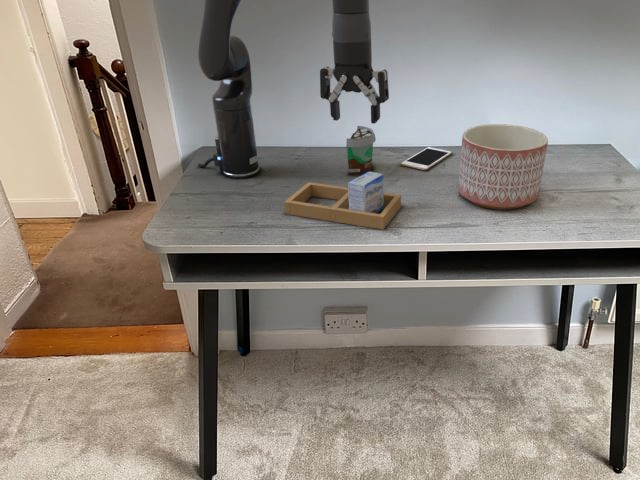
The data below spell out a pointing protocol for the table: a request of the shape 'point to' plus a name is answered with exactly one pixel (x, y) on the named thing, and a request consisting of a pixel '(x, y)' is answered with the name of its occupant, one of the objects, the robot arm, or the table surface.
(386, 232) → the table surface
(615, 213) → the table surface
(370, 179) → the medicine box
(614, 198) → the table surface
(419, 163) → the cell phone
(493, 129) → the planter
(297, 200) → the wooden divided frame
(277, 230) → the table surface
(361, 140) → the food container
